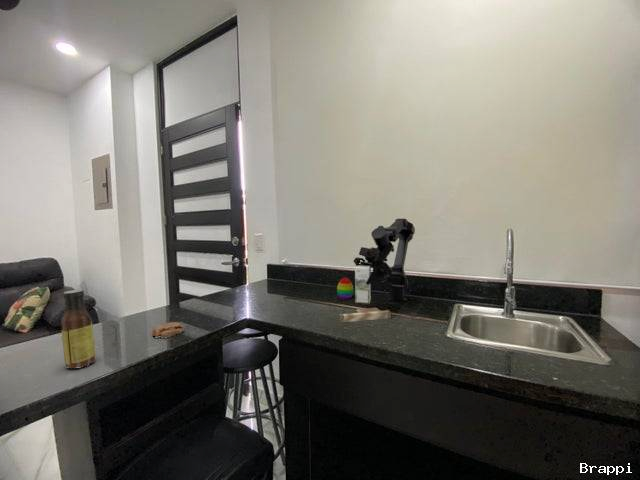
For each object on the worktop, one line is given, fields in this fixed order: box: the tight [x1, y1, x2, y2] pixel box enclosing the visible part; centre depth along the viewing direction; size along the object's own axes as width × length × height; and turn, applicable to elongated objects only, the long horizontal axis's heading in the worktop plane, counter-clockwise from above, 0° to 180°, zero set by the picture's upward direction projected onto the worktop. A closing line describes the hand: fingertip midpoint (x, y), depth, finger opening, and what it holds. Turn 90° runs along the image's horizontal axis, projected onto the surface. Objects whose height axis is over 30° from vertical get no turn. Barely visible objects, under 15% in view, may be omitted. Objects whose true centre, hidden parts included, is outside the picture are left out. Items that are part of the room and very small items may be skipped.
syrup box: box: [354, 265, 372, 304], centre depth 116 cm, size 6×6×14 cm
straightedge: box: [338, 309, 391, 324], centre depth 110 cm, size 20×2×3 cm, turn 104°
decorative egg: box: [336, 277, 355, 300], centre depth 142 cm, size 8×8×10 cm
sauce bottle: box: [60, 289, 96, 368], centre depth 75 cm, size 7×6×20 cm
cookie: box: [151, 321, 185, 337], centre depth 98 cm, size 10×11×3 cm
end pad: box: [356, 307, 381, 313], centre depth 117 cm, size 9×9×1 cm
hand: (360, 282), depth 115 cm, fingers closed on syrup box, 8 cm apart
